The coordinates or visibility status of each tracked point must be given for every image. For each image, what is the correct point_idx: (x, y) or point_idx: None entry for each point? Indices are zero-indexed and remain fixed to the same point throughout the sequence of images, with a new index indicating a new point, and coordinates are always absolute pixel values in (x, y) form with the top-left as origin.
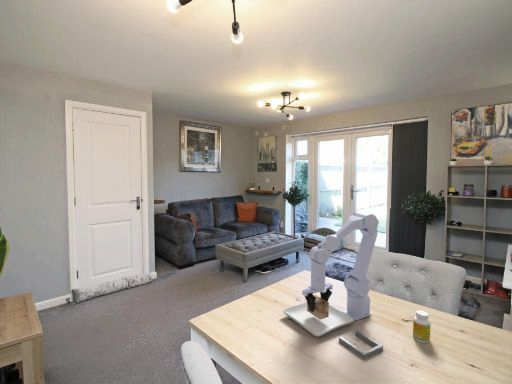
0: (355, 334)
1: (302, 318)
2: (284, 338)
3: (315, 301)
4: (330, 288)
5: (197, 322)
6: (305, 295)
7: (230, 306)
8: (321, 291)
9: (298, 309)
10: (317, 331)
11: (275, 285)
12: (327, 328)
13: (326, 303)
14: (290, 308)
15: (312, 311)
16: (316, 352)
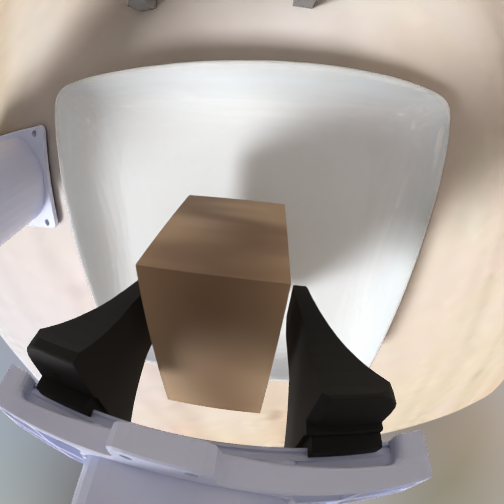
0: (155, 6)
1: None
2: (491, 232)
3: (265, 354)
4: (25, 383)
5: (492, 390)
6: (423, 438)
7: (402, 425)
8: (220, 468)
9: None
10: (359, 150)
11: None
12: (269, 131)
13: (177, 266)
14: None
15: (307, 289)
16: (480, 60)
